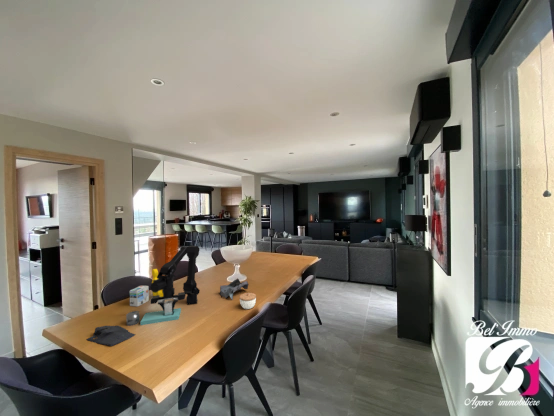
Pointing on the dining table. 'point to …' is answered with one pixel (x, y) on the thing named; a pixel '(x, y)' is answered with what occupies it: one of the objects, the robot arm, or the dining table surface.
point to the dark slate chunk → (110, 335)
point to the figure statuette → (155, 274)
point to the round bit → (132, 318)
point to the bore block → (160, 317)
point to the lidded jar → (248, 300)
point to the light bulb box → (139, 295)
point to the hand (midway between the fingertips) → (169, 311)
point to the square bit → (168, 308)
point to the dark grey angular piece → (232, 288)
